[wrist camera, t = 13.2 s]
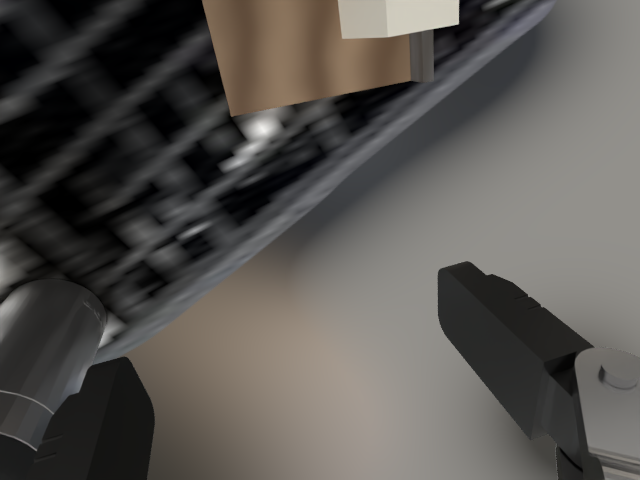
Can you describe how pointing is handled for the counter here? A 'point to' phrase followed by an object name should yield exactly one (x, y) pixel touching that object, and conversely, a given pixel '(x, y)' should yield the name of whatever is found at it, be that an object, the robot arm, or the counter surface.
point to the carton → (394, 17)
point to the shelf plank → (304, 53)
